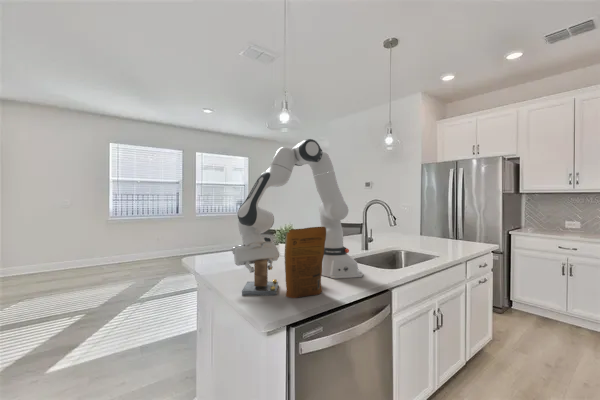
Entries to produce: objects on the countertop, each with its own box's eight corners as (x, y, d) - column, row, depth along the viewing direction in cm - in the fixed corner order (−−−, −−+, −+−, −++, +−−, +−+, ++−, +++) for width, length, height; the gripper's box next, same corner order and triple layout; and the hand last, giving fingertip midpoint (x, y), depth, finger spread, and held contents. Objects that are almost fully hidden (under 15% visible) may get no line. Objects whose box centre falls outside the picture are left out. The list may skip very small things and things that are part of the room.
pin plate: (278, 285, 124) (278, 273, 124) (276, 295, 112) (276, 281, 112) (247, 285, 124) (247, 273, 124) (241, 295, 112) (241, 281, 112)
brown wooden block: (267, 282, 121) (267, 259, 121) (266, 286, 116) (266, 262, 116) (256, 282, 121) (256, 259, 121) (254, 286, 116) (254, 262, 116)
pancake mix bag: (330, 294, 113) (330, 226, 112) (286, 301, 106) (286, 229, 105) (322, 289, 119) (322, 225, 119) (280, 295, 112) (280, 227, 111)
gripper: (232, 242, 119) (239, 269, 110) (275, 238, 129) (284, 263, 121) (229, 250, 123) (236, 277, 114) (271, 246, 133) (280, 271, 125)
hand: (261, 270), depth 118 cm, fingers open, 7 cm apart
